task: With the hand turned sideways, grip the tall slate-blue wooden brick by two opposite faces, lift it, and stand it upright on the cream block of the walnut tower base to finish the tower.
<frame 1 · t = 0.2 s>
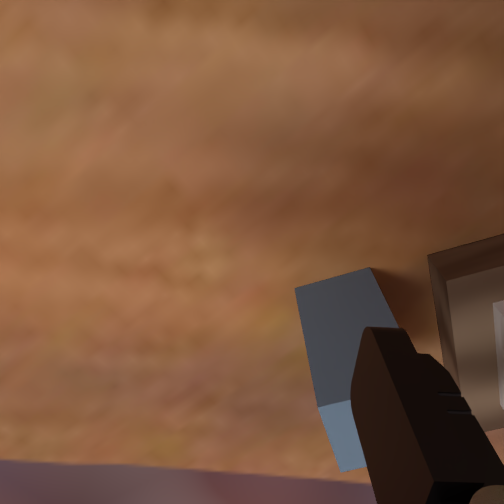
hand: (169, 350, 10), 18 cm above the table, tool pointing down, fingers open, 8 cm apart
slate brick: (339, 307, 31), on the table
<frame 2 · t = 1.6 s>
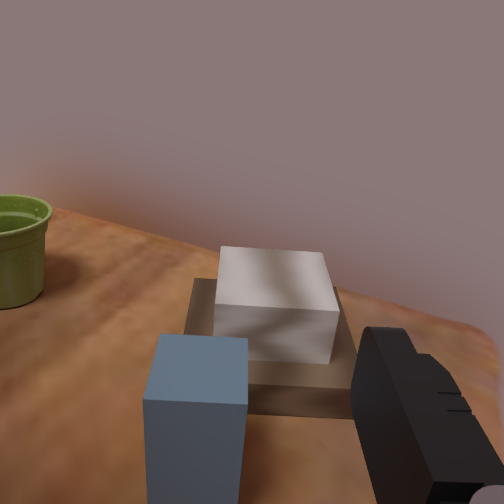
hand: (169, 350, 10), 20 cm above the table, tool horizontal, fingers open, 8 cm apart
plant pot: (11, 294, 46), on the table
slate brick: (196, 488, 29), on the table
tower base: (265, 352, 41), on the table
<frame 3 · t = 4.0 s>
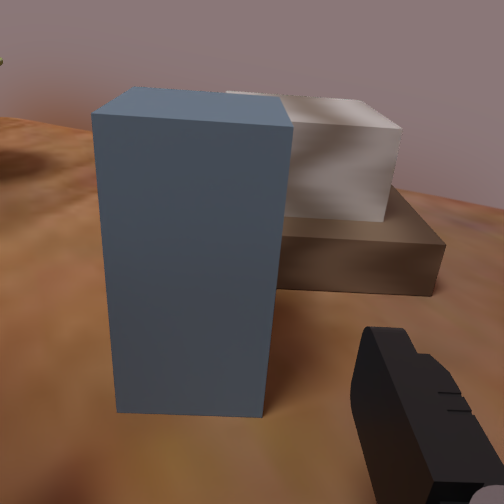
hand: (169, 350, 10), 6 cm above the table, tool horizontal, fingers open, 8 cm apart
slate brick: (196, 366, 18), on the table
tower base: (287, 233, 30), on the table
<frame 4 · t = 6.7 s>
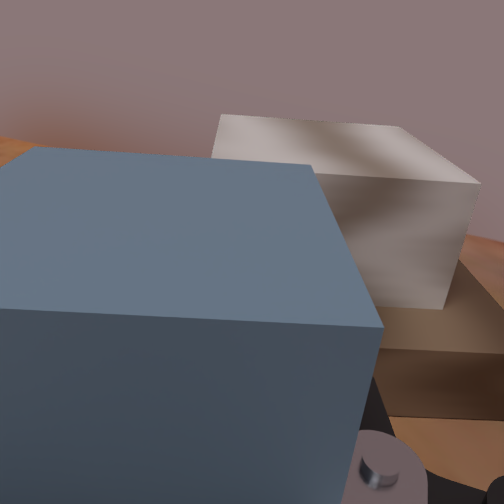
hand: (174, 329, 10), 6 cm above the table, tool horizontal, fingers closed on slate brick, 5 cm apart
tower base: (302, 304, 23), on the table
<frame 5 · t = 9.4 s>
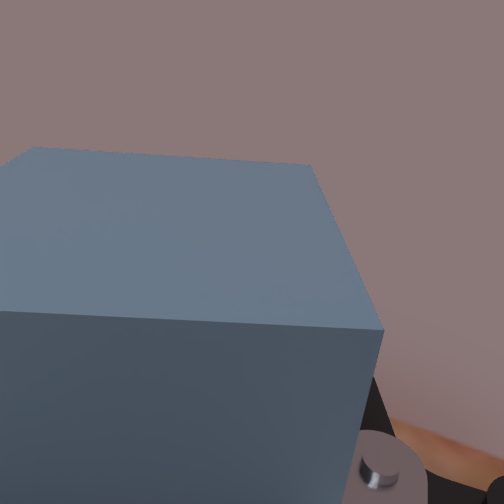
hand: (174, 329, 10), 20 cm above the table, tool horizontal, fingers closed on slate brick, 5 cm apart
when the fingers open (15 cm above the table, at t = 12.1 s): slate brick drops 1 cm, resting on tower base.
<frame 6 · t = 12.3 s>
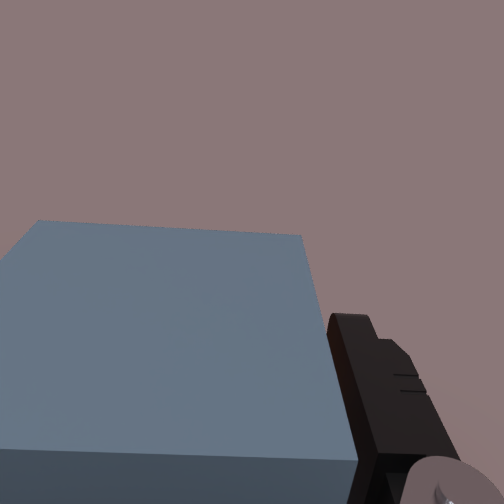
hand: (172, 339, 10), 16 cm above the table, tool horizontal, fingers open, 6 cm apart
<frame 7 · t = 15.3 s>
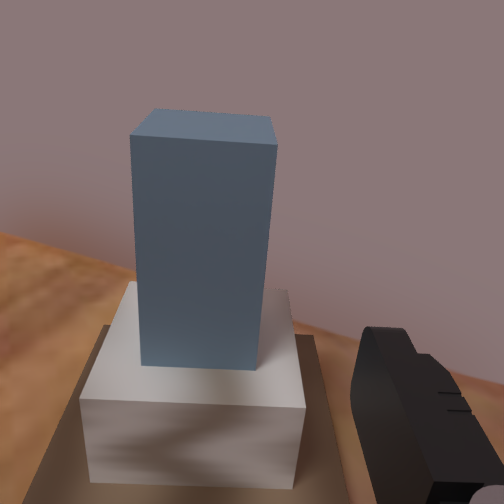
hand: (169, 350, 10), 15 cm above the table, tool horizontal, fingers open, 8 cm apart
slate brick: (203, 333, 22), point 8 cm above the table, touching tower base
tower base: (199, 448, 26), on the table
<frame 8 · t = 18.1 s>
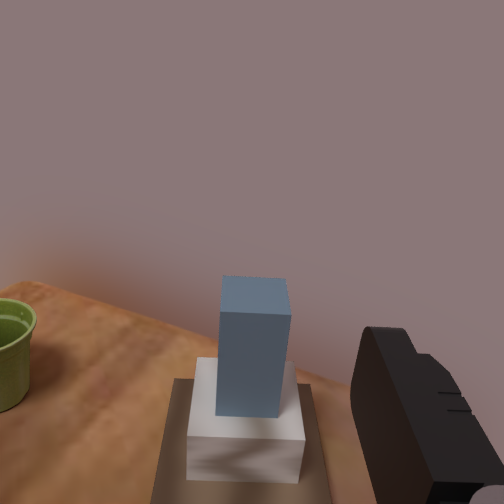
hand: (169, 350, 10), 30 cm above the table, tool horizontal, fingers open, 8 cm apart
slate brick: (246, 394, 39), point 8 cm above the table, touching tower base
tower base: (240, 459, 42), on the table
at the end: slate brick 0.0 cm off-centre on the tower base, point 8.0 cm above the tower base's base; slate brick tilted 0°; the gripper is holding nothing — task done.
